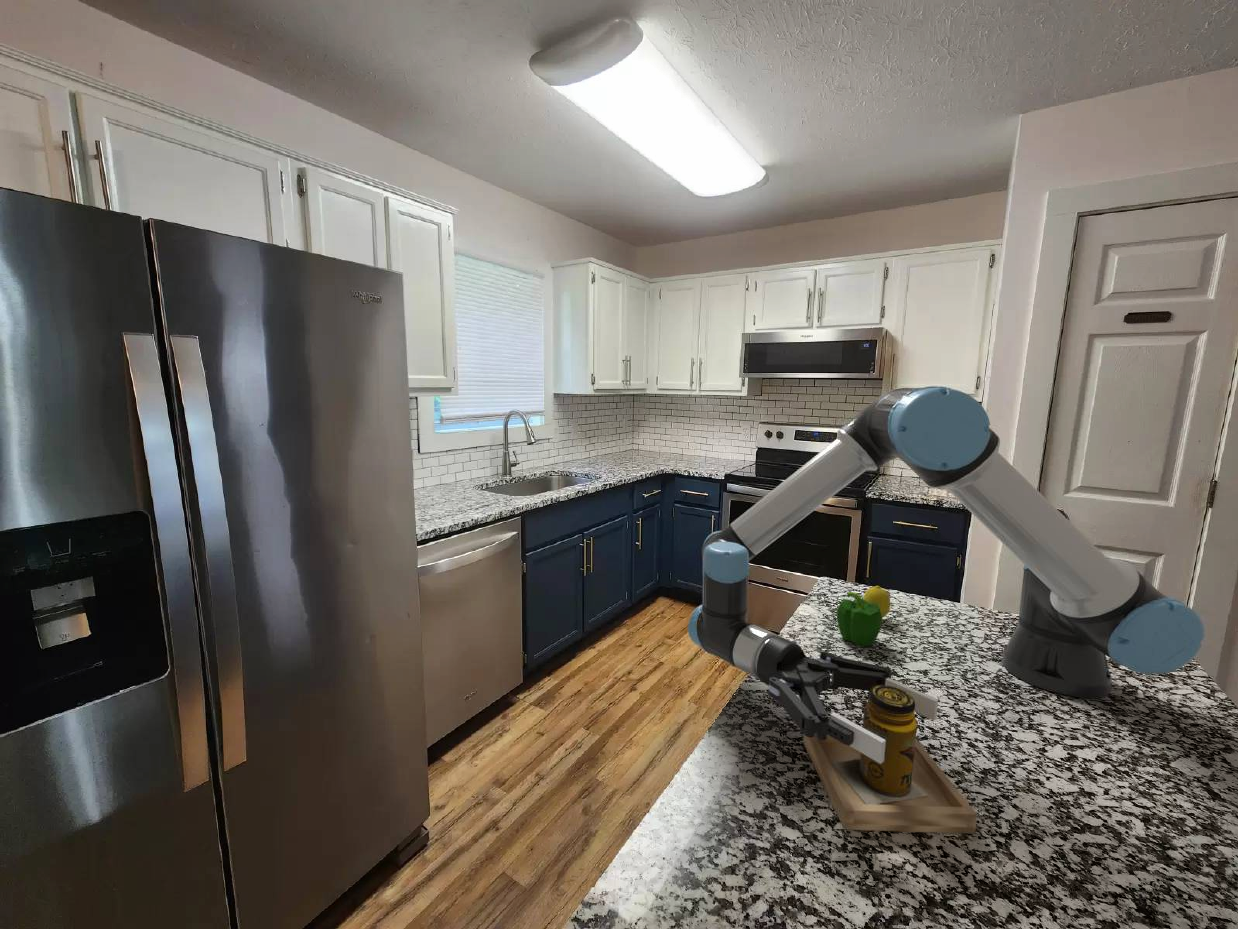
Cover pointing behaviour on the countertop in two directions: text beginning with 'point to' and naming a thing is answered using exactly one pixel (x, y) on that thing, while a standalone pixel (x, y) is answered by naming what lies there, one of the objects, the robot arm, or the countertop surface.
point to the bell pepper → (859, 620)
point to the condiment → (886, 749)
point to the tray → (920, 814)
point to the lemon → (878, 599)
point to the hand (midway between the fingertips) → (911, 730)
